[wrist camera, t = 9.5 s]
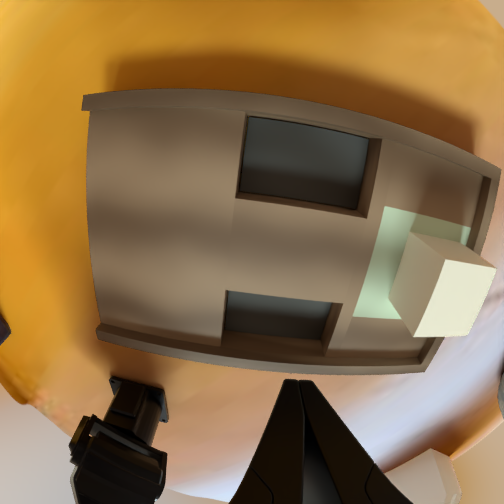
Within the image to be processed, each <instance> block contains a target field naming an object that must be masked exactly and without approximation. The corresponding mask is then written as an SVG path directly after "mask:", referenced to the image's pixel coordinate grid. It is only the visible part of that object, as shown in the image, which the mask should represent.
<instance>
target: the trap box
mask: <svg viewBox="0 0 504 504" xmlns="http://www.w3.org/2000/svg"><path fill="white" fill-rule="evenodd" d="M82 111H90V117H89V128H88V143H87V170H86V192H87V220H88V235H89V246H90V256H91V265H92V273H93V280H94V287H95V293H96V299H97V305H98V310H99V315H100V321H101V323H100V325H99V326H98V327H97V329H96V334H97V338H98V339H99V340H102V341H106V342H109V343H113V344H117V345H121V346H125V347H129V348H133V349H137V350H141V351H145V352H150V353H154V354H159V355H164V356H169V357H174V358H179V359H184V360H190V361H195V362H201V363H207V364H214V365H221V366H228V367H235V368H243V369H252V370H262V371H272V372H285V373H299V374H320V375H385V374H405V373H419V372H425V371H426V369H427V367H428V366H429V364H430V362H431V361H432V359H433V357H434V356H435V354H436V352H437V350H438V349H439V347H440V345H441V343H442V341H443V339H444V338H445V337H413V336H412V334H411V333H410V331H409V330H408V328H407V326H406V325H405V323H404V322H403V320H402V319H401V317H400V316H399V314H398V313H397V311H396V310H395V308H394V307H393V305H392V304H391V302H390V301H389V299H388V297H389V294H390V291H391V288H392V286H393V283H394V280H395V277H396V274H397V271H398V268H399V265H400V262H401V259H402V255H403V252H404V249H405V245H406V242H407V238H408V235H409V232H414V233H419V234H424V235H428V236H433V237H438V238H442V239H447V240H451V241H456V242H460V243H462V244H463V245H465V246H466V247H468V248H469V249H471V250H472V251H474V252H475V253H476V254H478V255H479V256H480V254H481V251H482V248H483V245H484V242H485V239H486V235H487V232H488V228H489V225H490V221H491V217H492V213H493V209H494V205H495V201H496V196H497V191H498V186H499V181H500V175H501V169H500V168H498V167H497V166H495V165H493V164H491V163H489V162H487V161H485V160H483V159H481V158H479V157H477V156H475V155H473V154H471V153H469V152H467V151H465V150H463V149H460V148H458V147H456V146H454V145H451V144H449V143H447V142H444V141H442V140H440V139H437V138H435V137H432V136H430V135H427V134H424V133H422V132H419V131H416V130H414V129H411V128H408V127H405V126H402V125H399V124H396V123H393V122H390V121H387V120H384V119H380V118H377V117H374V116H370V115H367V114H363V113H359V112H355V111H352V110H348V109H343V108H339V107H335V106H331V105H326V104H321V103H316V102H311V101H306V100H300V99H295V98H289V97H282V96H275V95H268V94H260V93H251V92H241V91H229V90H213V89H140V90H125V91H113V92H104V93H95V94H88V95H83V102H82ZM248 116H252V117H249V120H248V128H247V136H246V143H245V135H246V127H247V119H248ZM253 117H260V118H253ZM262 118H268V119H262ZM269 119H275V120H269ZM276 120H282V121H276ZM283 121H289V122H295V123H301V124H306V125H301V124H295V123H289V122H283ZM307 125H311V126H307ZM312 126H317V127H322V128H327V129H331V130H327V129H322V128H317V127H312ZM332 130H336V131H332ZM337 131H340V132H337ZM341 132H345V133H349V134H345V133H341ZM350 134H353V135H350ZM354 135H357V136H354ZM358 136H361V137H358ZM362 137H365V138H362ZM366 138H368V139H366ZM244 143H245V151H244V159H243V167H242V158H243V150H244ZM241 167H242V175H241ZM240 175H241V184H240V191H239V183H240ZM243 191H244V192H243ZM251 192H252V193H251ZM259 193H260V194H259ZM266 194H267V195H266ZM273 195H274V196H273ZM280 196H281V197H280ZM287 197H288V198H287ZM300 199H301V200H300ZM306 200H307V201H306ZM330 204H331V205H330ZM336 205H337V206H336ZM347 207H348V208H347ZM228 290H229V293H228ZM227 293H228V303H227ZM226 304H227V313H226ZM225 314H226V324H225ZM224 325H225V327H224Z"/></svg>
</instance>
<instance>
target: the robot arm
mask: <svg viewBox="0 0 504 504" xmlns="http://www.w3.org/2000/svg"><path fill="white" fill-rule="evenodd" d="M109 382H110V385H111V388H112V391H113V394H114V398H113V400H112V402H111V404H110V406H109V408H108V410H107V412H106V414H105V417H104V419H103V421H102V420H101V419H99V418H97V416H96V415H94V414H92V416H91V417H88V416H83V418H82V420H81V421H80V423H79V425H78V427H77V429H76V431H75V433H74V435H73V437H72V439H71V441H70V443H69V448H70V451H71V454H70V455H71V456H72V457H71V459H70V462H71V463H73V464H74V465H76V466H75V468H74V470H73V473H72V475H71V477H70V482H71V487H72V491H73V494H74V499H75V502H76V504H154V502H155V501H157V499H158V498H159V497H160V496H161V494H162V492H163V489H164V486H165V480H166V466H167V453H166V452H164V451H160V450H157V449H155V448H153V447H151V445H152V442H153V439H154V436H155V432H156V429H157V426H158V423H159V421H160V422H165V423H167V422H168V420H169V418H168V412H167V406H166V399H165V393H164V391H163V390H162V389H159V388H155V387H150V386H146V385H142V384H138V383H135V382H131V381H127V380H124V379H120V378H117V377H113V376H111V377H110V379H109ZM89 434H90V435H92V437H91V436H89ZM373 463H374V461H373V460H372V458H371V457H370V456H369V455H368V453H367V452H366V451H365V449H364V448H363V447H362V446H361V444H360V443H359V442H358V440H357V439H356V438H355V437H354V435H353V434H352V433H351V431H350V430H349V429H348V427H347V426H346V425H345V424H344V422H343V421H342V420H341V418H340V417H339V416H338V414H337V413H336V412H335V410H334V409H333V408H332V406H331V405H330V404H329V402H328V401H327V400H326V398H325V397H324V396H323V394H322V393H321V392H320V390H319V389H318V388H317V386H316V385H315V384H314V382H313V381H311V380H299V381H298V380H296V379H285V380H284V381H283V384H282V387H281V389H280V392H279V395H278V397H277V400H276V403H275V405H274V408H273V410H272V413H271V415H270V418H269V420H268V423H267V425H266V428H265V430H264V433H263V435H262V437H261V440H260V442H259V444H258V447H257V449H256V451H255V454H254V456H253V458H252V461H251V463H250V465H249V468H248V469H247V471H246V473H245V476H244V478H243V480H242V482H241V484H240V486H239V487H238V489H237V491H236V493H235V495H234V496H233V498H232V499H231V501H230V502H229V504H413V503H412V502H411V501H410V500H409V499H408V498H407V497H406V496H405V495H403V494H402V493H401V492H400V491H399V490H398V489H397V488H396V487H395V486H394V485H393V484H392V482H391V481H390V480H389V479H388V478H387V477H386V475H385V474H384V473H383V472H382V471H381V470H380V468H379V467H378V466H377V464H376V463H374V464H373Z"/></svg>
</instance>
